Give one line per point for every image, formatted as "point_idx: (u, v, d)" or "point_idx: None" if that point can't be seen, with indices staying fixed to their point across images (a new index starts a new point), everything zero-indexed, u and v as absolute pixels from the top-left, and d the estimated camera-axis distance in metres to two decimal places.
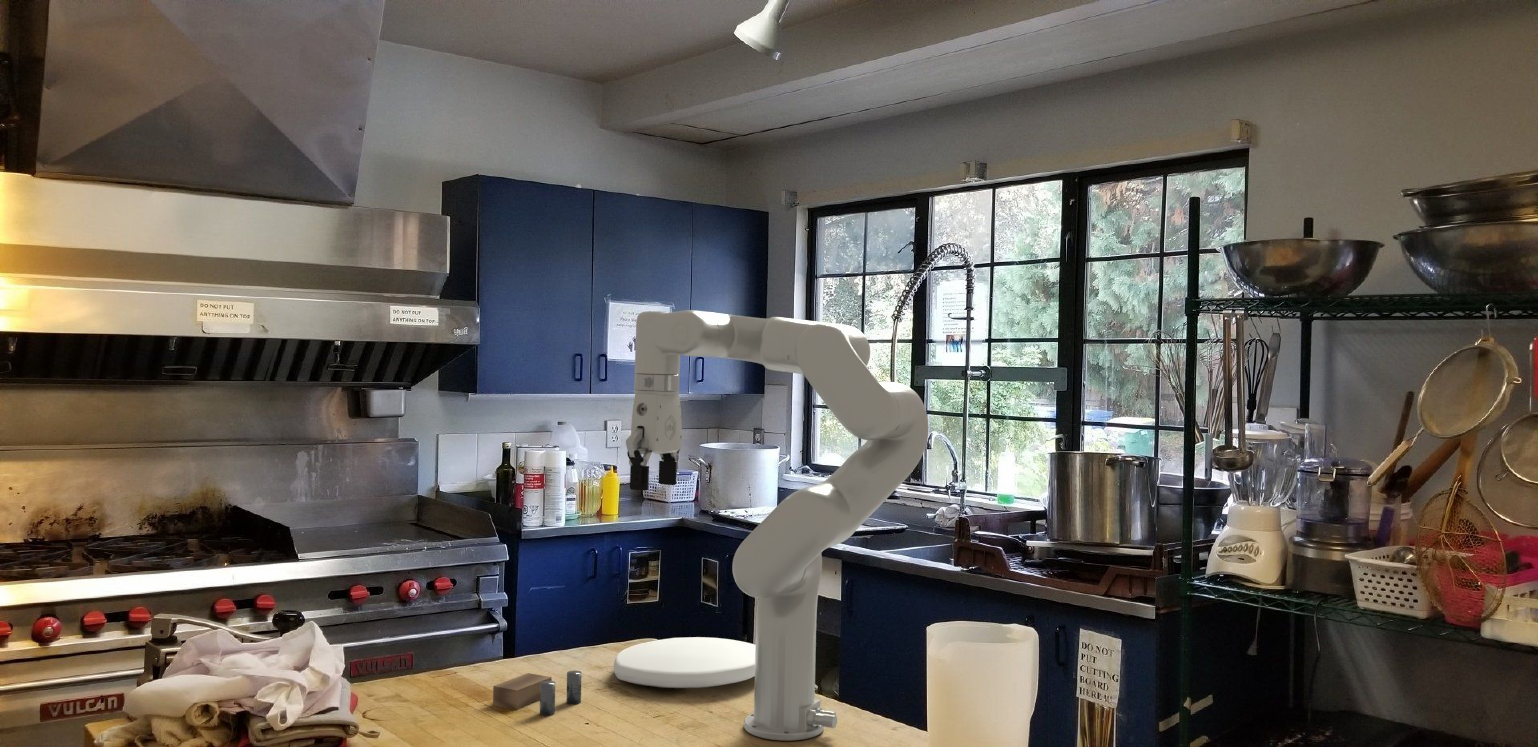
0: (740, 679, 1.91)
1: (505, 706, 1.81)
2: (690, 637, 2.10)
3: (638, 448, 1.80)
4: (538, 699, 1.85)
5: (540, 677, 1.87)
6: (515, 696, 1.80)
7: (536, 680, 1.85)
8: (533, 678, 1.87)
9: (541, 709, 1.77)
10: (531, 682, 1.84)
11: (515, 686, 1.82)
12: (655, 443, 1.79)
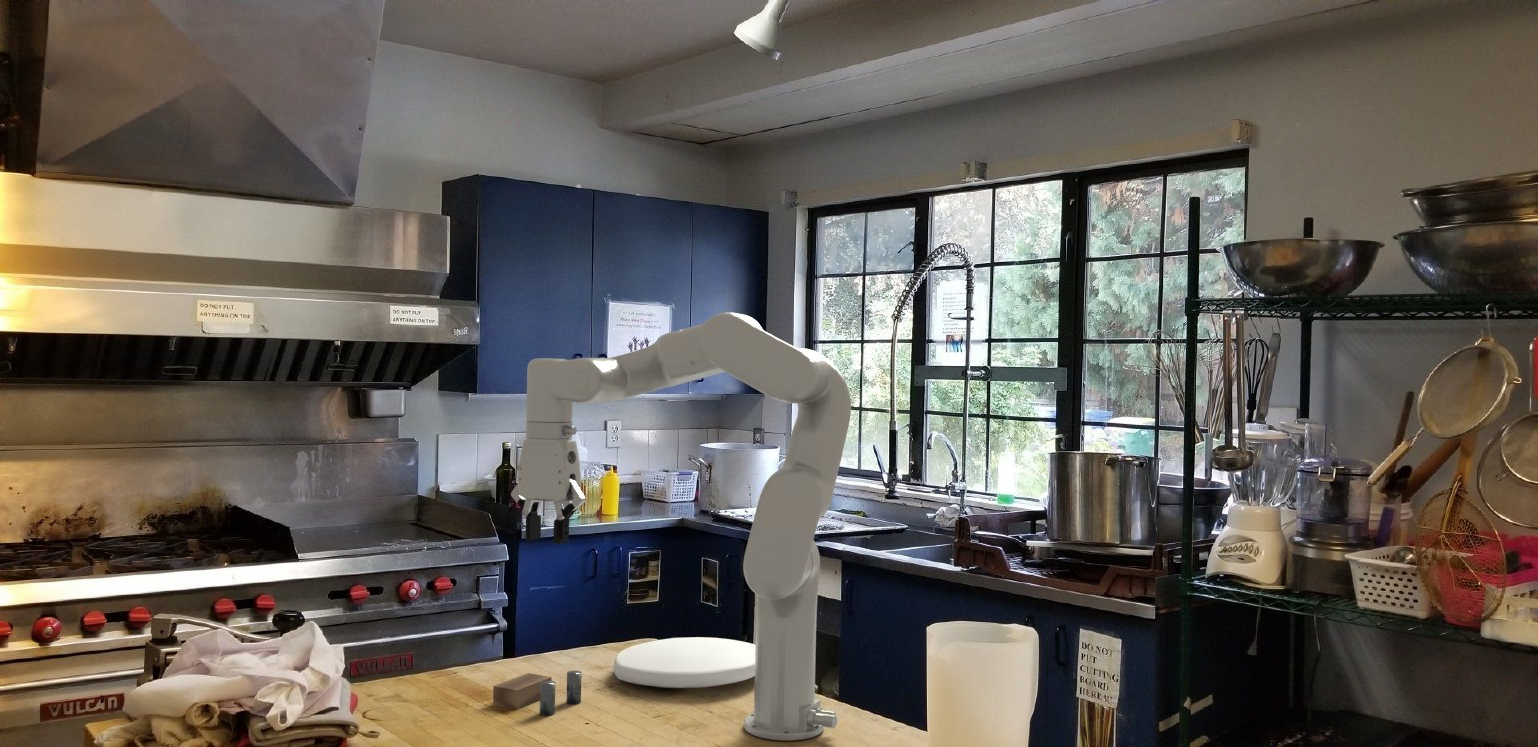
0: (740, 679, 1.91)
1: (505, 706, 1.81)
2: (690, 637, 2.10)
3: (562, 501, 1.81)
4: (538, 699, 1.85)
5: (540, 677, 1.87)
6: (515, 696, 1.80)
7: (536, 680, 1.85)
8: (533, 678, 1.87)
9: (541, 709, 1.77)
10: (531, 682, 1.84)
11: (515, 686, 1.82)
12: None
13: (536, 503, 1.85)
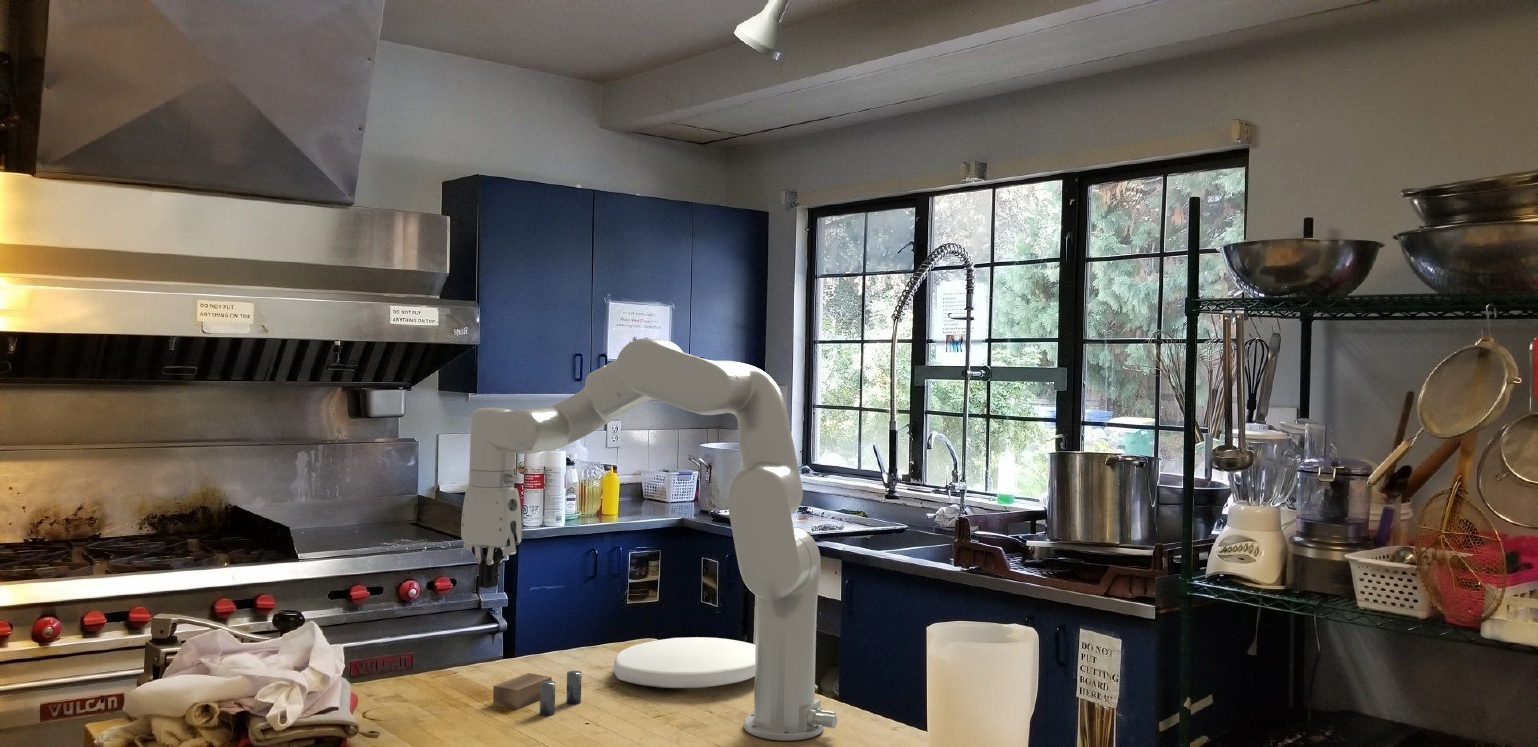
0: (740, 679, 1.91)
1: (505, 706, 1.81)
2: (690, 637, 2.10)
3: (496, 548, 1.87)
4: (538, 699, 1.85)
5: (540, 677, 1.87)
6: (515, 696, 1.80)
7: (536, 680, 1.85)
8: (533, 678, 1.87)
9: (541, 709, 1.77)
10: (531, 682, 1.84)
11: (515, 686, 1.82)
12: None
13: (487, 549, 1.90)
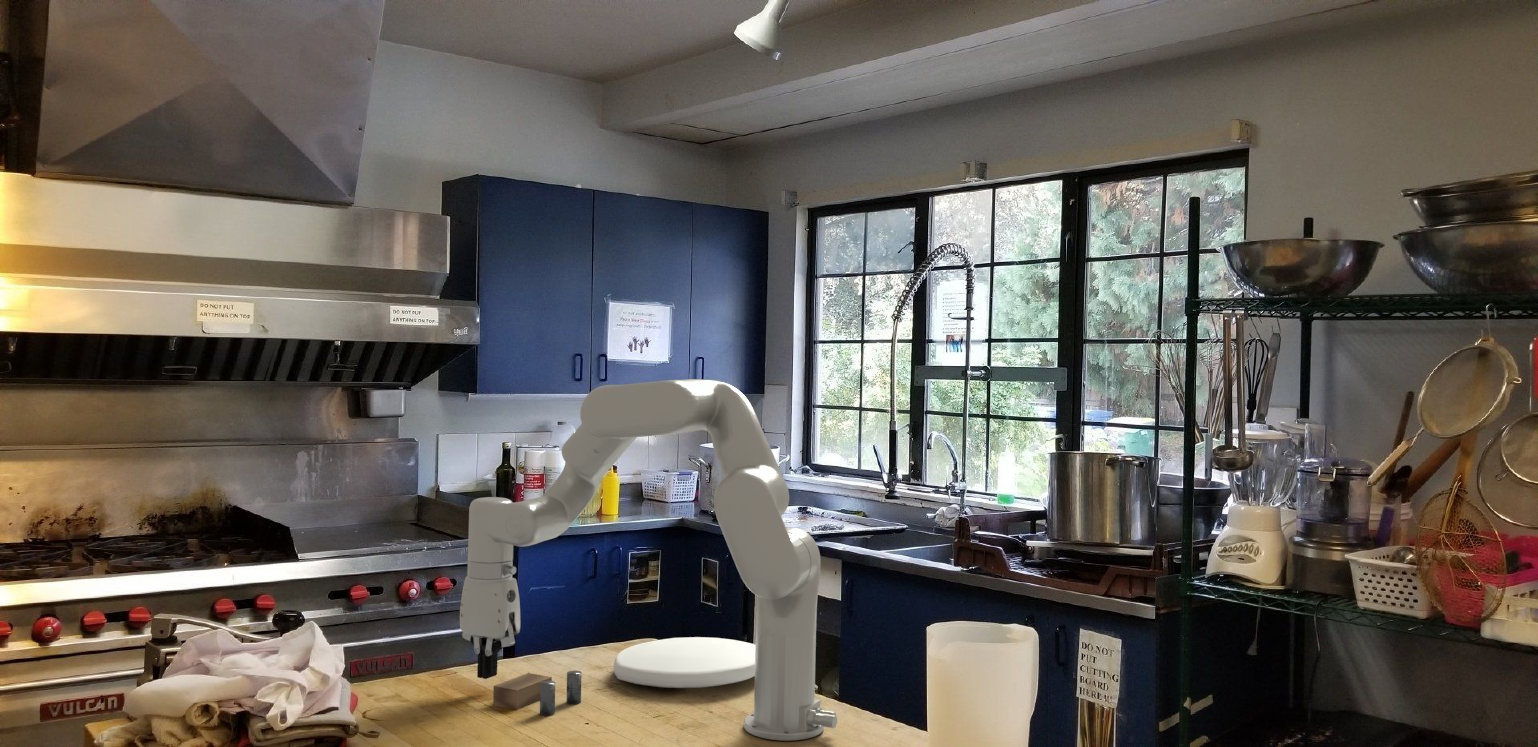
0: (740, 679, 1.91)
1: (505, 706, 1.81)
2: (690, 637, 2.10)
3: (495, 639, 1.87)
4: (538, 699, 1.85)
5: (540, 677, 1.87)
6: (515, 696, 1.80)
7: (536, 680, 1.86)
8: (533, 678, 1.87)
9: (541, 709, 1.77)
10: (532, 682, 1.84)
11: (515, 686, 1.82)
12: None
13: (485, 638, 1.90)
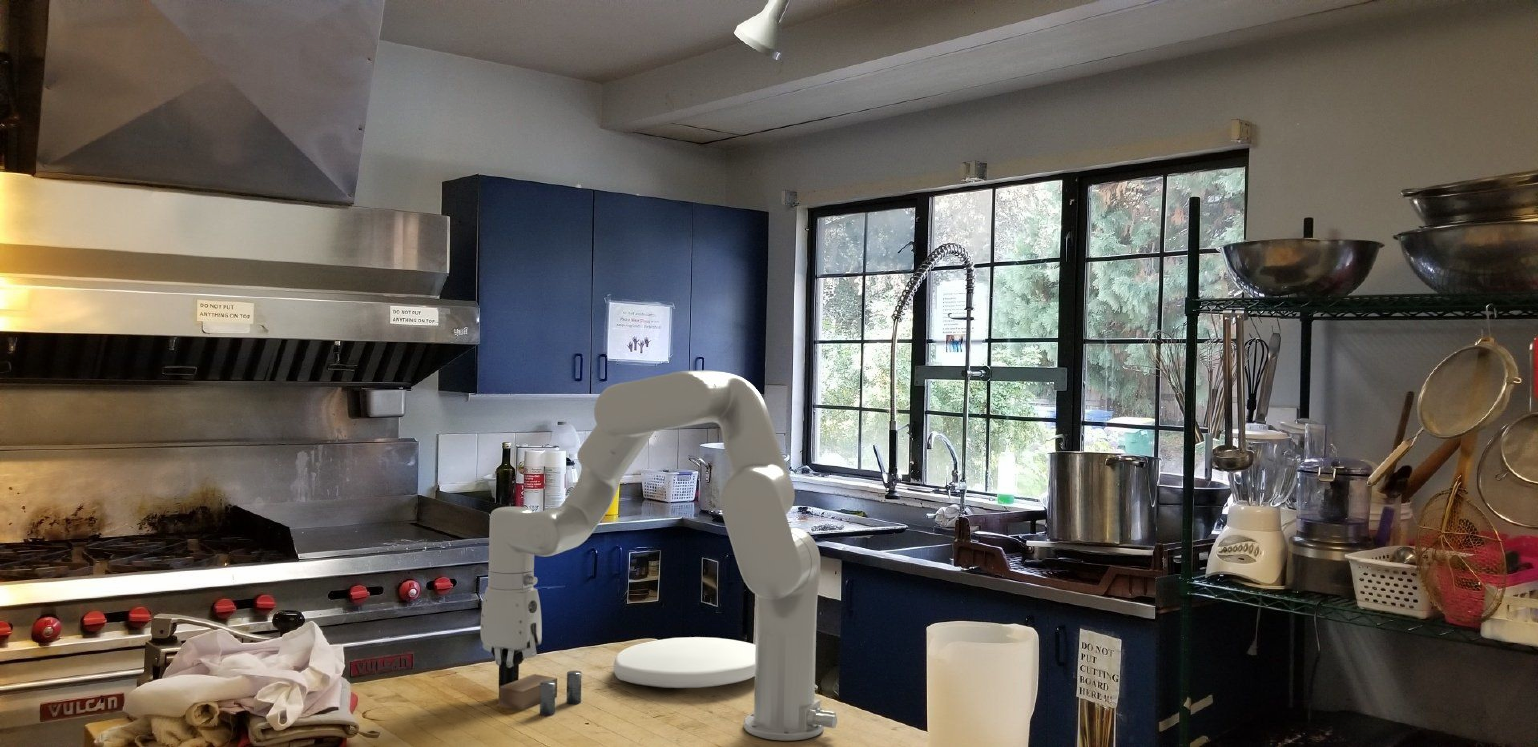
0: (740, 679, 1.91)
1: (510, 707, 1.80)
2: (690, 637, 2.10)
3: (516, 650, 1.85)
4: None
5: (545, 678, 1.87)
6: (521, 697, 1.79)
7: (541, 681, 1.85)
8: (539, 679, 1.86)
9: (541, 709, 1.77)
10: (537, 683, 1.84)
11: (520, 687, 1.81)
12: None
13: (506, 650, 1.88)
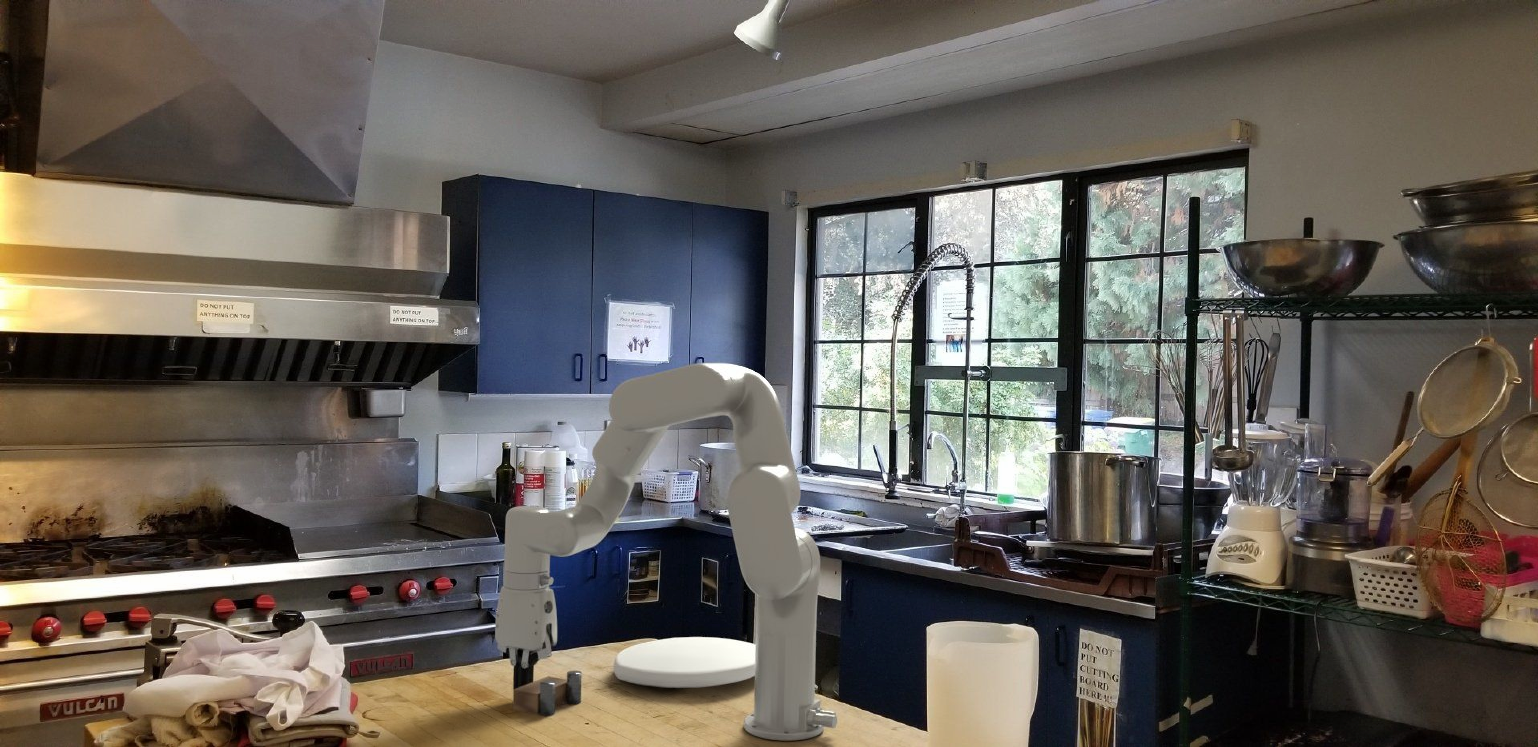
0: (740, 679, 1.91)
1: (525, 710, 1.79)
2: (690, 637, 2.10)
3: (532, 651, 1.83)
4: (558, 703, 1.83)
5: (560, 680, 1.85)
6: (536, 700, 1.78)
7: (556, 684, 1.83)
8: None
9: (541, 709, 1.77)
10: None
11: (535, 690, 1.80)
12: None
13: (521, 650, 1.86)
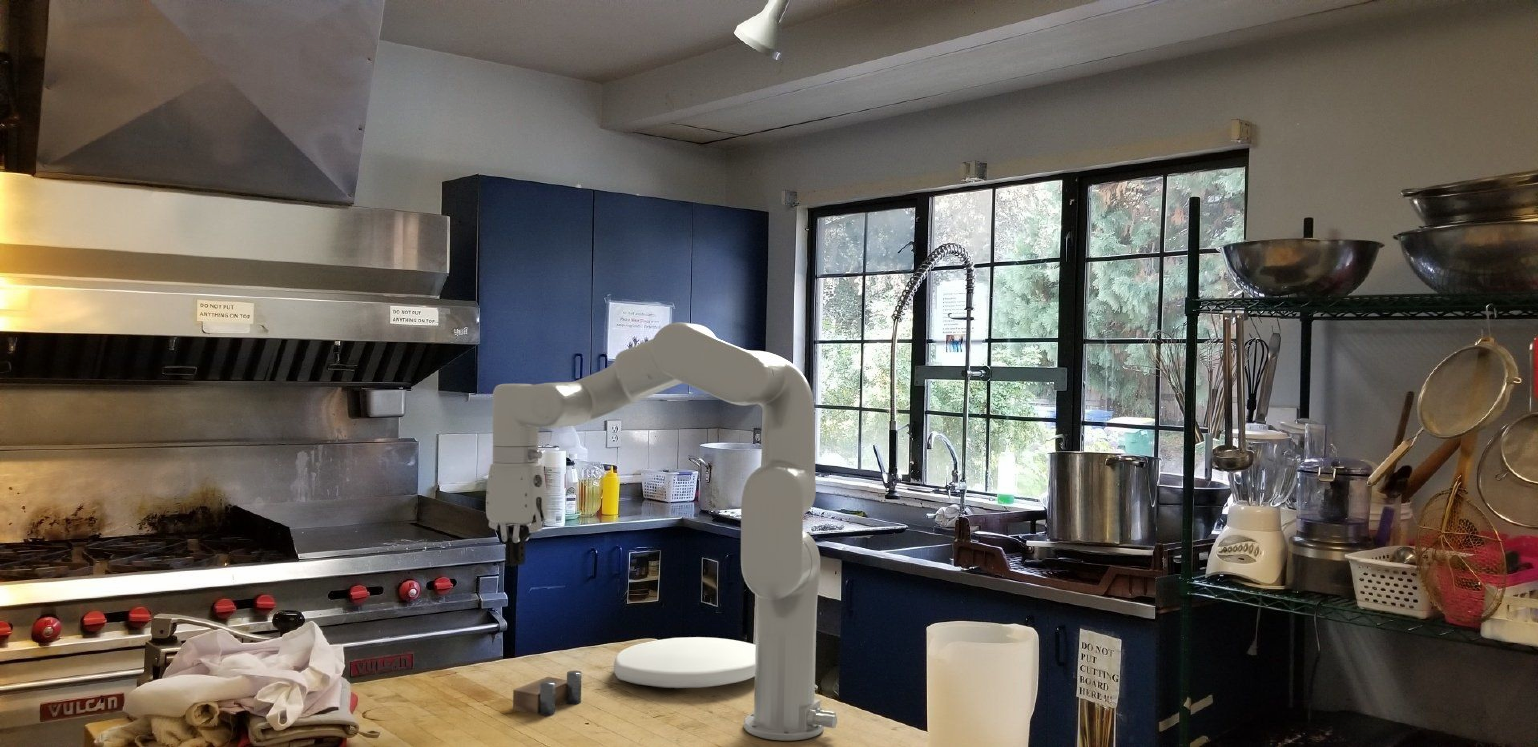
0: (740, 679, 1.91)
1: (525, 710, 1.79)
2: (690, 637, 2.10)
3: (522, 526, 1.84)
4: (558, 703, 1.83)
5: (559, 681, 1.85)
6: (536, 700, 1.78)
7: (556, 684, 1.83)
8: None
9: (541, 709, 1.77)
10: None
11: (535, 690, 1.80)
12: None
13: (512, 527, 1.87)
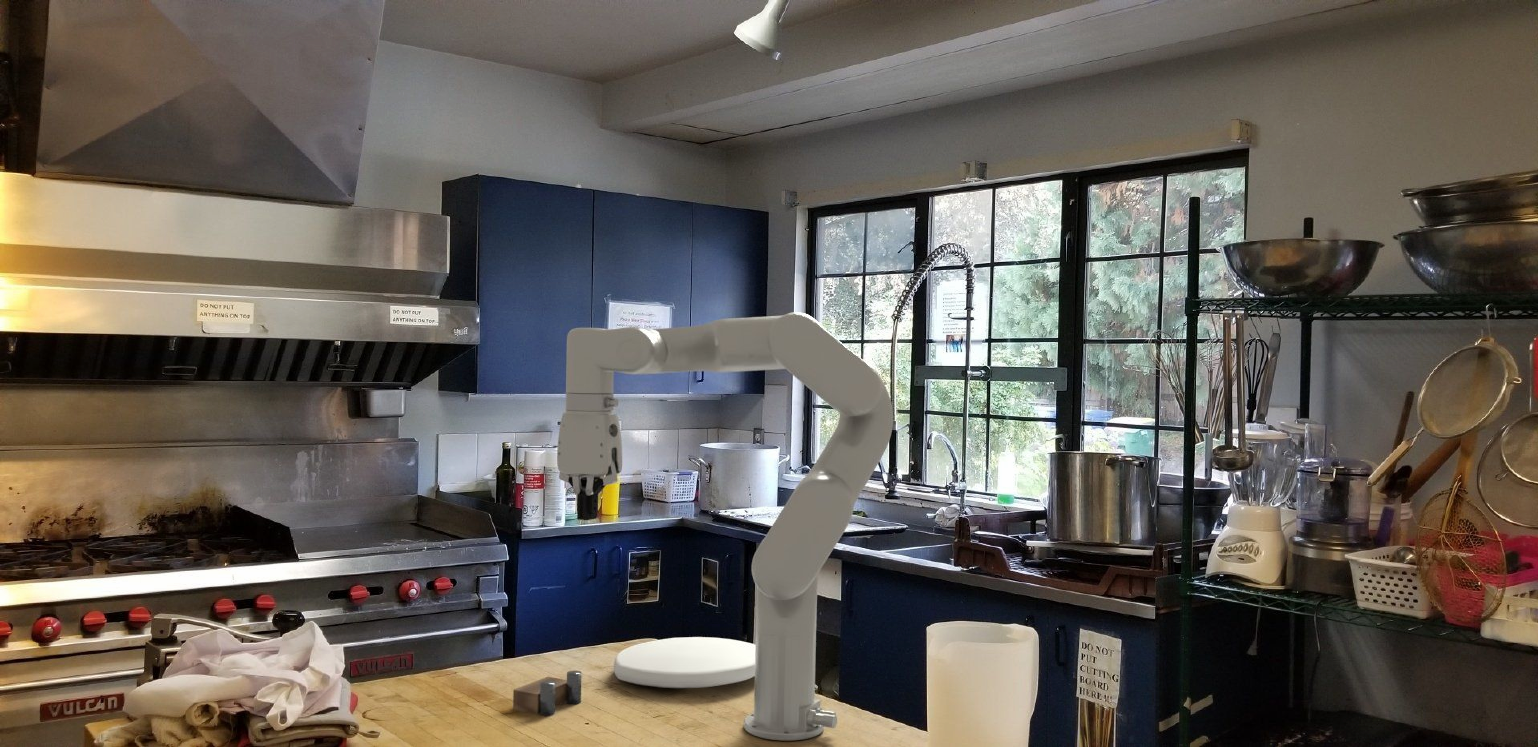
0: (740, 679, 1.91)
1: (525, 710, 1.79)
2: (690, 637, 2.10)
3: (596, 477, 1.74)
4: (558, 703, 1.83)
5: (560, 681, 1.85)
6: (536, 700, 1.78)
7: (556, 684, 1.84)
8: None
9: (541, 709, 1.77)
10: None
11: (535, 690, 1.80)
12: None
13: (584, 480, 1.77)
